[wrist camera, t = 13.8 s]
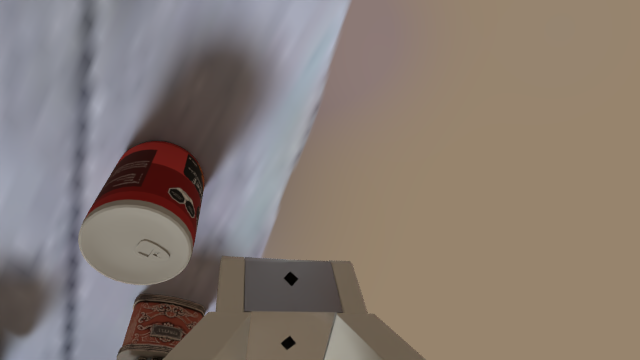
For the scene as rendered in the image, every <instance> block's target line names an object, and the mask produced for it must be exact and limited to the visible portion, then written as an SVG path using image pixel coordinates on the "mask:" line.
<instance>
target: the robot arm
mask: <svg viewBox="0 0 640 360" xmlns="http://www.w3.org/2000/svg"><path fill="white" fill-rule="evenodd" d="M163 360H426V359H424V358H423V357H422V356H421V355H420V354H419V353H418V352H417V351H416V350H414V349H413V348H412V347H411V346H410V345H409V344H408V343H407V342H405V341H404V340H403V339H402V338H401V337H400V336H399V335H398V334H396V333H395V332H394V331H393V330H392V329H391V328H390V327H389V326H387V325H386V324H385V323H384V322H383V321H382V320H380V319H379V318H378V317H377V316H376V315H375V314H368V312H367V309H366V306H365V303H364V299H363V296H362V293H361V290H360V287H359V284H358V280H357V278H356V274H355V271H354V268H353V265H352V263H351V262H350V261H312V260H283V259H267V258H252V257H245V259H244V257H229V256H222V258H221V262H220V272H219V282H218V292H217V302H216V312H208V313H207V314H206V315H205V316H204V317H203V318H202V319H201V320H200V321H199V322H198V323H197V324H196V325H195V326H194V327H193V329H192V330H191V331H190V332H189V333H188V334H187V335H186V336H185V337H184V338H183V339H182V340H181V341H180V342H179V343H178V344H177V345H176V346H175V347H174V348H173V349H172V350H171V351H170V352H169V353H168V354H167V356H166V357H165V358H164V359H163Z"/></svg>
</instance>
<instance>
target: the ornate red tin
mask: <svg viewBox="0 0 640 360" xmlns="http://www.w3.org/2000/svg"><path fill="white" fill-rule="evenodd" d="M204 314H205V309H204V307H203V306H201V305H200V304H197V303H194V302H191V301H188V300H184V299H180V298H176V297H170V296H163V295H151V294H142V295H140V296H138V297H137V298H136V299H135V302H134V305H133V313H132V317H131V320H130V323H129V326H128V329H127V333H126V336H125V339H124V342H123V345H122V347H121V348H120V350H119V352H118V355H117V360H163V359H164V358H165V357H166V356H167V354H168V353H169V352H170V351H171V350H172V349H173V348H174V347H175V346H176V345H177V344H178V343H179V342H180V341H181V340H182V339H183V338H184V337H185V336H186V335H187V334H188V333H189V332H190V331H191V330H192V329H193V327H194V326H195V325H196V324H197V323H198V322H199V321H200V320H201V319H202V318H203V317H204Z"/></svg>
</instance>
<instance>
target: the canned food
mask: <svg viewBox="0 0 640 360" xmlns="http://www.w3.org/2000/svg"><path fill="white" fill-rule="evenodd" d="M203 191H204V176H203V172H202V170H201V167H200V165H199V164H198V162H197V160H196V159H195V158H194V157H193V156H192V155H191V154H190V153H189V152H188V151H186V150H185V149H183V148H182V147H180V146H177V145H175V144H172V143H168V142H163V141H150V142H145V143H142V144H139V145H137V146H135V147H133V148H131V149H129V150H128V151H127V152H126V153H124V155H123V156H122V157H121V159H120V160H119V162H118V163H117V165H116V167H115V168H114V170H113V172H112V173H111V175H110V177H109V178H108V180H107V182H106V183H105V185H104V187H103V188H102V190H101V192H100V193H99V195H98V197H97V198H96V200H95V202H94V203H93V205H92V207H91V208H90V210H89V212H88V214H87V216H86V218H85V219H84V221H83V224H82V226H81V229H80V232H79V239H78V242H79V247H80V251H81V253H82V255H83V257H84V258H85V259H86V261H87V262H88V263H89V264H90V265H91V266H92V267H93V268H94V269H95V270H96V271H98V272H99V273H101V274H103V275H104V276H106V277H108V278H111V279H113V280H115V281H119V282H123V283H127V284H134V285H151V284H157V283H161V282H165V281H167V280H169V279H172V278H174V277H175V276H177V275H178V274H179V273H181V272H182V271H183V270H184V268H185V267H186V266H187V264H188V262H189V260H190V257H191V255H192V251H193V246H194V242H195V237H196V231H197V225H198V219H199V214H200V208H201V202H202V196H203Z"/></svg>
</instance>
